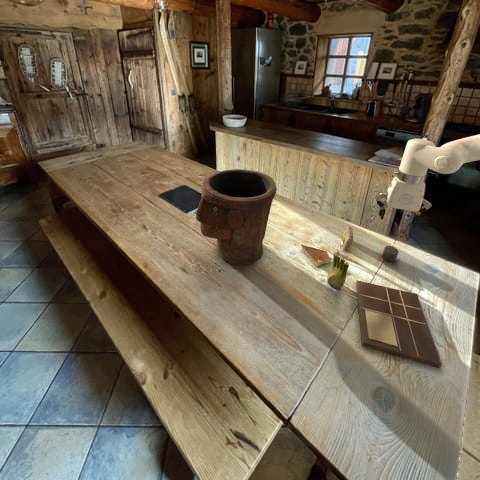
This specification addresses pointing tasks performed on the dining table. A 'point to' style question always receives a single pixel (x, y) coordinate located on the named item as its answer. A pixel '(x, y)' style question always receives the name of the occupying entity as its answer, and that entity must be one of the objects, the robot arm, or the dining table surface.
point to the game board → (395, 323)
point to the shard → (317, 255)
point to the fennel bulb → (337, 272)
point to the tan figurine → (347, 239)
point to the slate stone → (390, 254)
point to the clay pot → (236, 213)
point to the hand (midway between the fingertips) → (395, 219)
